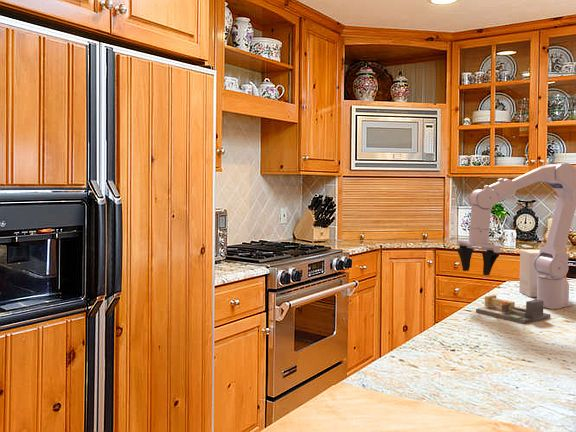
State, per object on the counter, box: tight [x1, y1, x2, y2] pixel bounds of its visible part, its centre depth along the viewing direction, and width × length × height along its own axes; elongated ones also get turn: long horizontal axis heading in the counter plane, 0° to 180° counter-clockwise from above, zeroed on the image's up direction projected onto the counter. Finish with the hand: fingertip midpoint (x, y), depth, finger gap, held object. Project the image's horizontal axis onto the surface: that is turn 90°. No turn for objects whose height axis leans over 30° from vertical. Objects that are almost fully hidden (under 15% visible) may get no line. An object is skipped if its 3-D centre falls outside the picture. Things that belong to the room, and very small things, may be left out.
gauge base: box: [475, 299, 551, 325], centre depth 159 cm, size 12×16×5 cm
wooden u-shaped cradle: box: [484, 294, 516, 309], centre depth 162 cm, size 6×8×3 cm
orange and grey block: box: [502, 300, 509, 312], centre depth 157 cm, size 2×1×3 cm, turn 123°
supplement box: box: [518, 249, 540, 298], centre depth 187 cm, size 9×9×15 cm
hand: (475, 272), depth 168 cm, fingers open, 7 cm apart
